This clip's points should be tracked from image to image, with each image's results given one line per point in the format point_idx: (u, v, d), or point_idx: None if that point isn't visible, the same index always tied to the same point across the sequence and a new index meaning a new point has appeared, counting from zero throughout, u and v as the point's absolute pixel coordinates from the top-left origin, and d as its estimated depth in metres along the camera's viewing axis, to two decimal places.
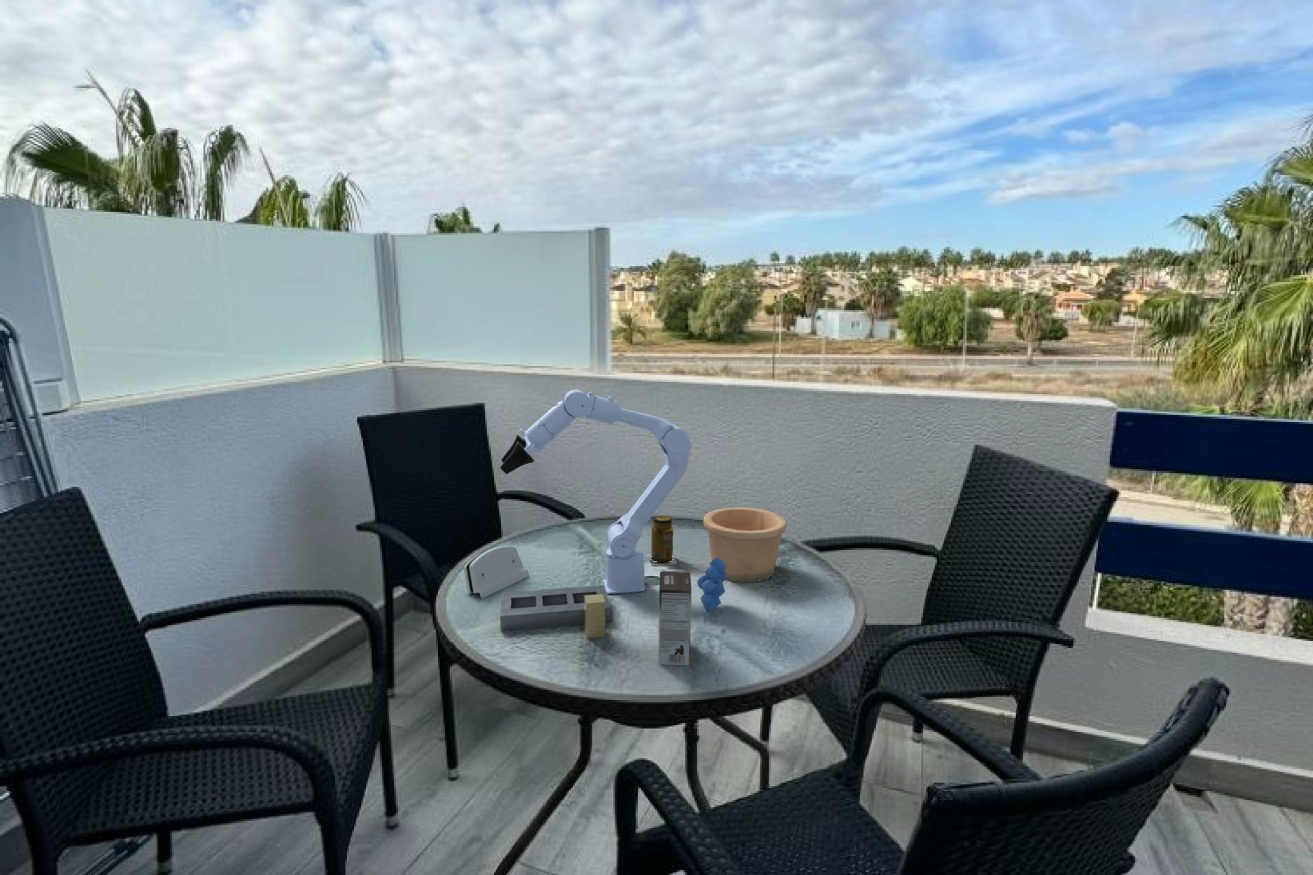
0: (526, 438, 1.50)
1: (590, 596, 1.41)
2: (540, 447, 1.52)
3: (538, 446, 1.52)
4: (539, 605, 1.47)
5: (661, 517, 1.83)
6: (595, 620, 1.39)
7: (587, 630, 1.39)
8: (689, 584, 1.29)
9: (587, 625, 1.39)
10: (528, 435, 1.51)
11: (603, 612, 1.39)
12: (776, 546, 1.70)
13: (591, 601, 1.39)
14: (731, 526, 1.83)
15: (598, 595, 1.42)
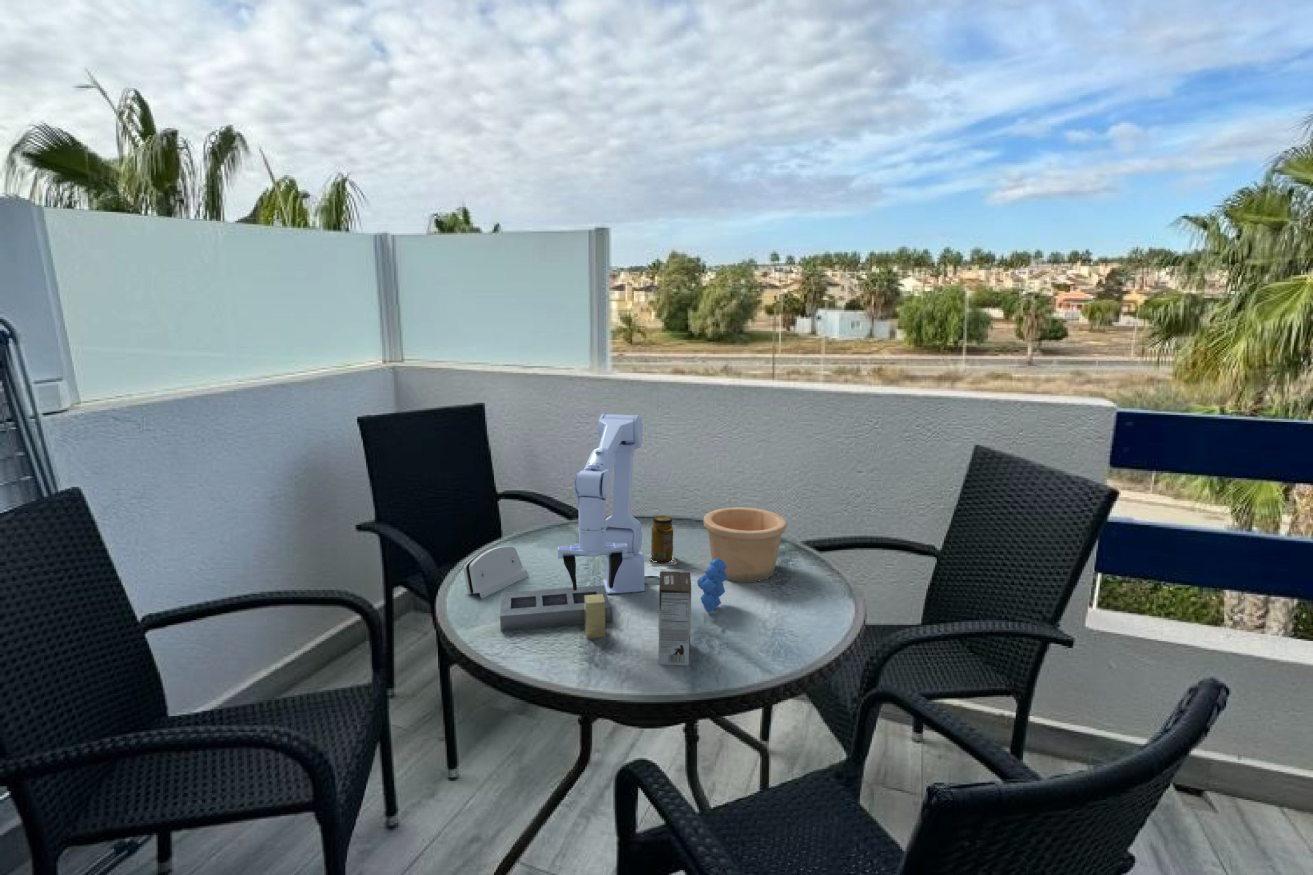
0: (609, 550, 1.37)
1: (590, 596, 1.41)
2: None
3: None
4: (539, 605, 1.47)
5: (661, 517, 1.83)
6: (595, 620, 1.39)
7: (587, 630, 1.39)
8: (689, 584, 1.29)
9: (587, 625, 1.39)
10: (603, 547, 1.36)
11: (603, 612, 1.39)
12: (776, 546, 1.70)
13: (591, 601, 1.39)
14: (731, 526, 1.83)
15: (598, 595, 1.42)
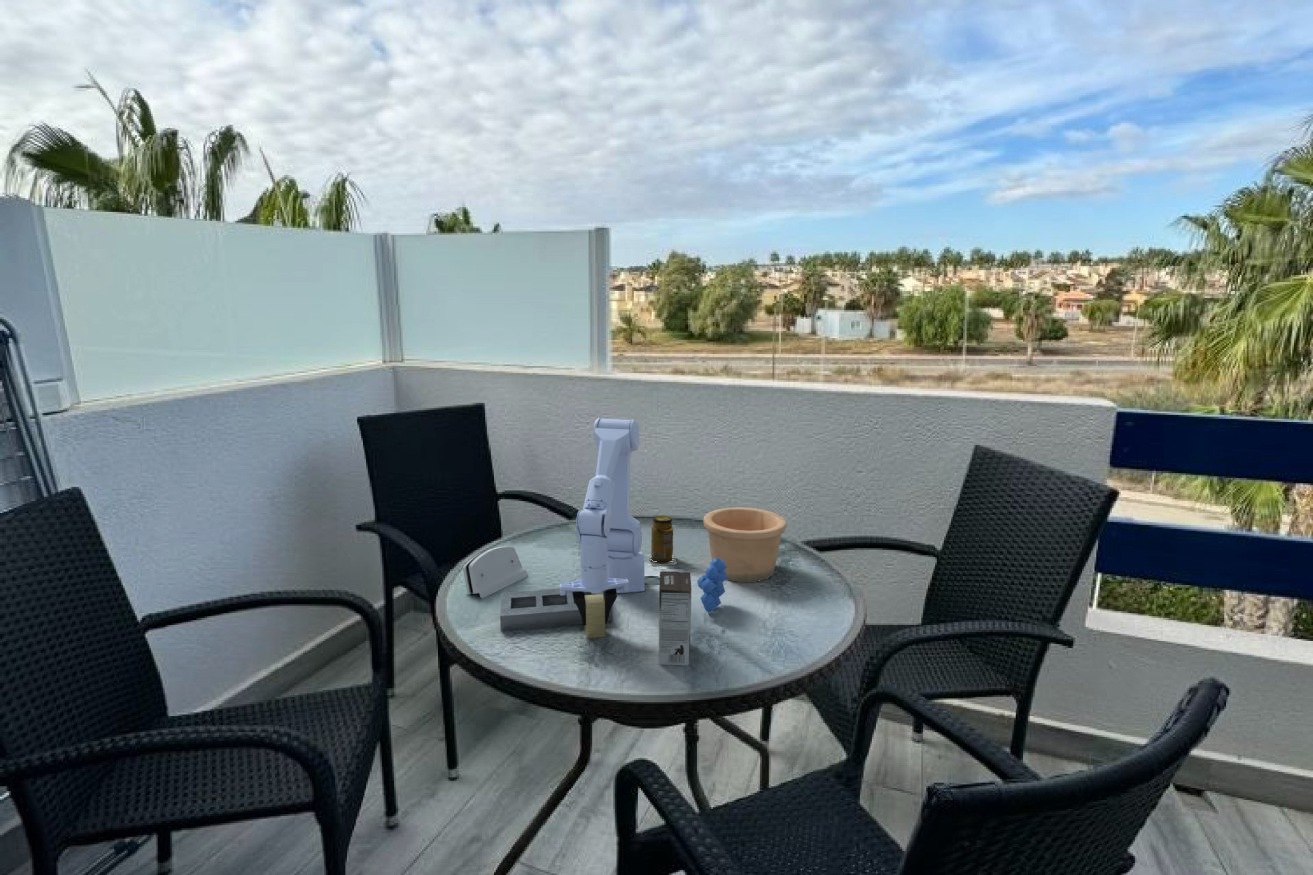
0: (611, 586, 1.38)
1: (590, 596, 1.41)
2: None
3: None
4: (539, 605, 1.47)
5: (661, 517, 1.83)
6: (595, 620, 1.39)
7: (587, 630, 1.39)
8: (689, 584, 1.29)
9: (587, 625, 1.39)
10: (604, 584, 1.38)
11: (603, 612, 1.39)
12: (776, 546, 1.70)
13: (591, 601, 1.39)
14: (731, 526, 1.83)
15: (598, 595, 1.42)
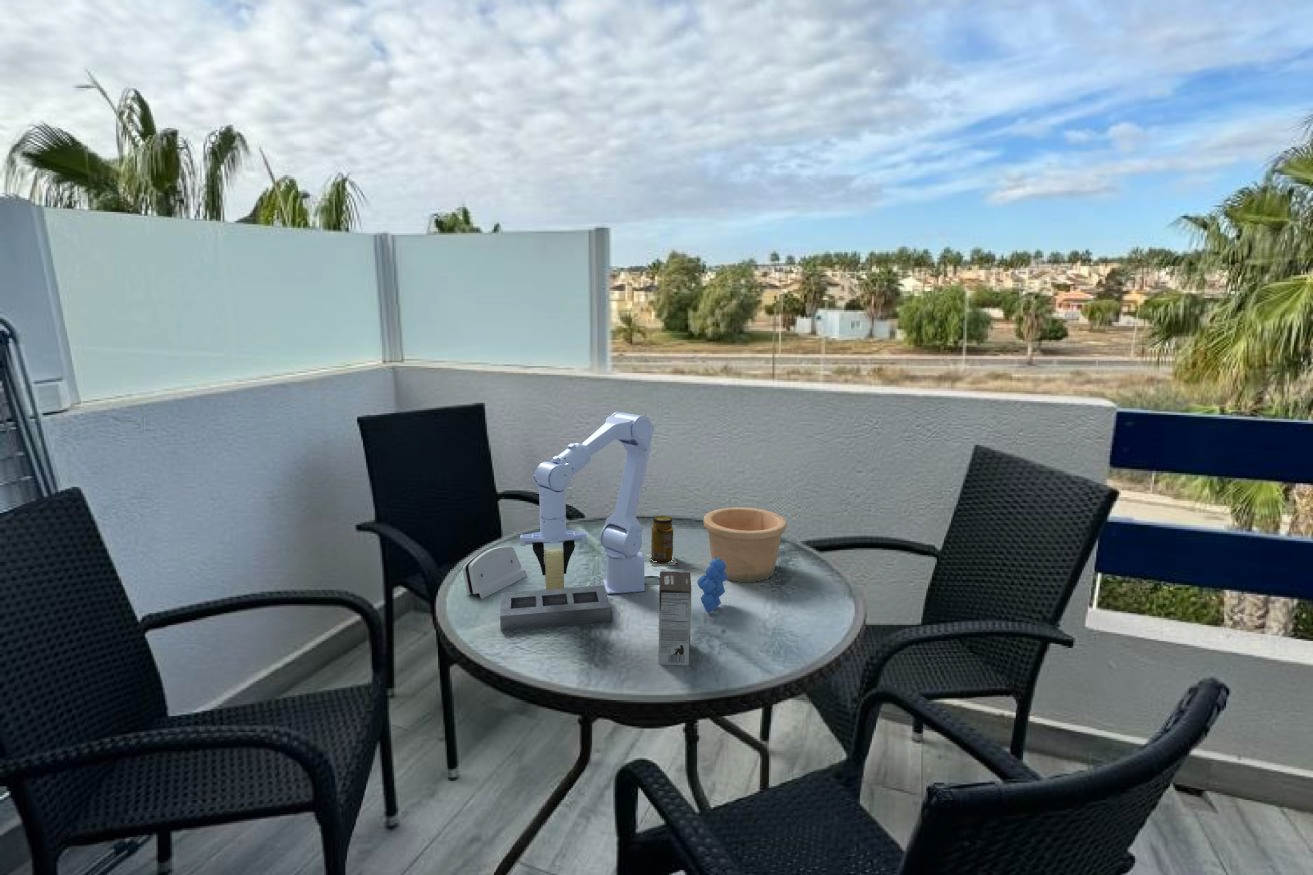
0: (569, 537, 1.45)
1: (550, 550, 1.48)
2: None
3: None
4: (539, 605, 1.47)
5: (661, 517, 1.83)
6: (554, 573, 1.46)
7: (547, 582, 1.46)
8: (689, 584, 1.29)
9: (546, 577, 1.46)
10: (562, 535, 1.45)
11: (562, 565, 1.46)
12: (776, 546, 1.70)
13: (551, 554, 1.46)
14: (731, 526, 1.83)
15: (558, 549, 1.49)
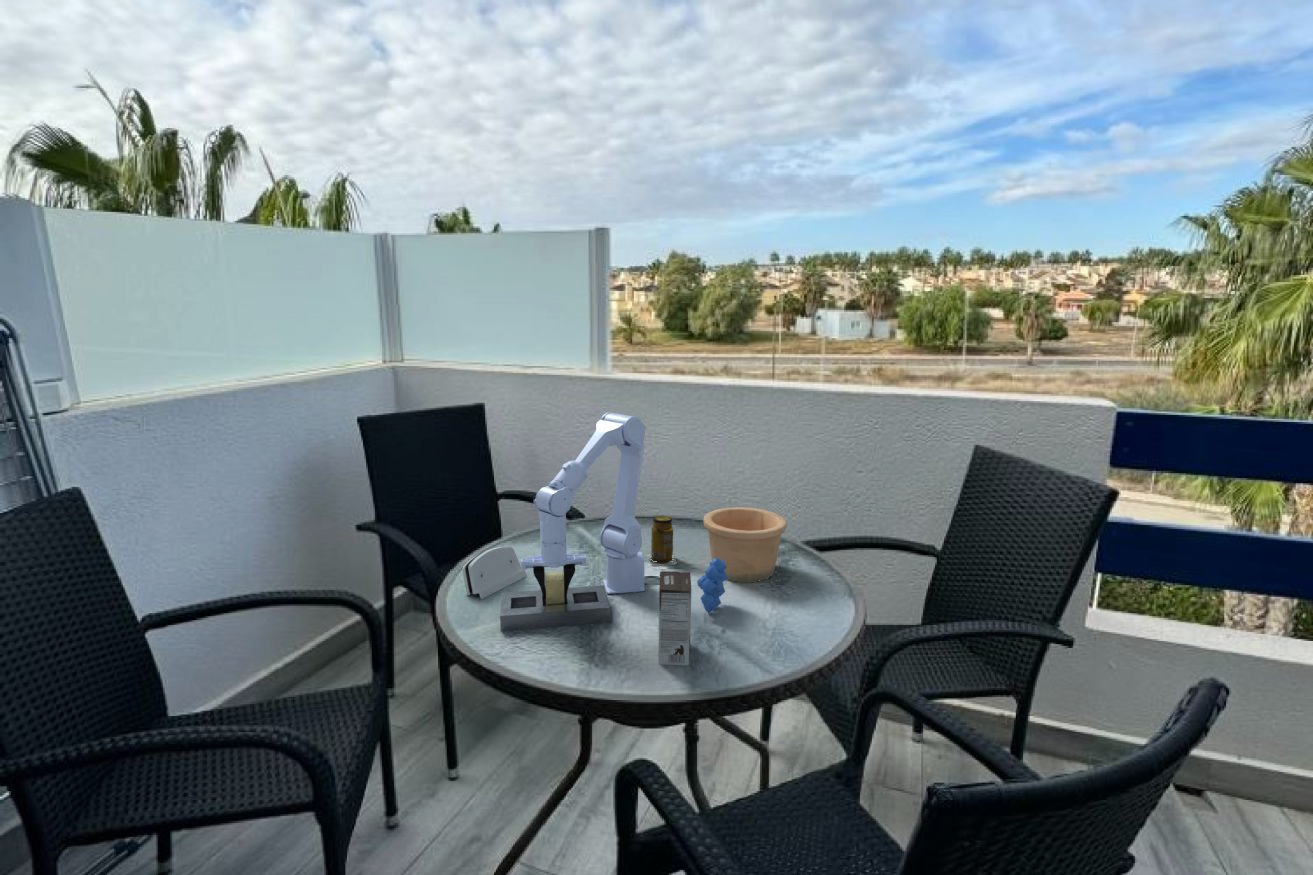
0: (569, 561, 1.47)
1: (550, 574, 1.49)
2: None
3: None
4: (539, 605, 1.47)
5: (661, 517, 1.83)
6: (555, 596, 1.47)
7: None
8: (689, 584, 1.29)
9: (547, 601, 1.47)
10: (563, 559, 1.46)
11: (562, 589, 1.47)
12: (776, 546, 1.70)
13: (551, 578, 1.47)
14: (731, 526, 1.83)
15: (558, 573, 1.50)
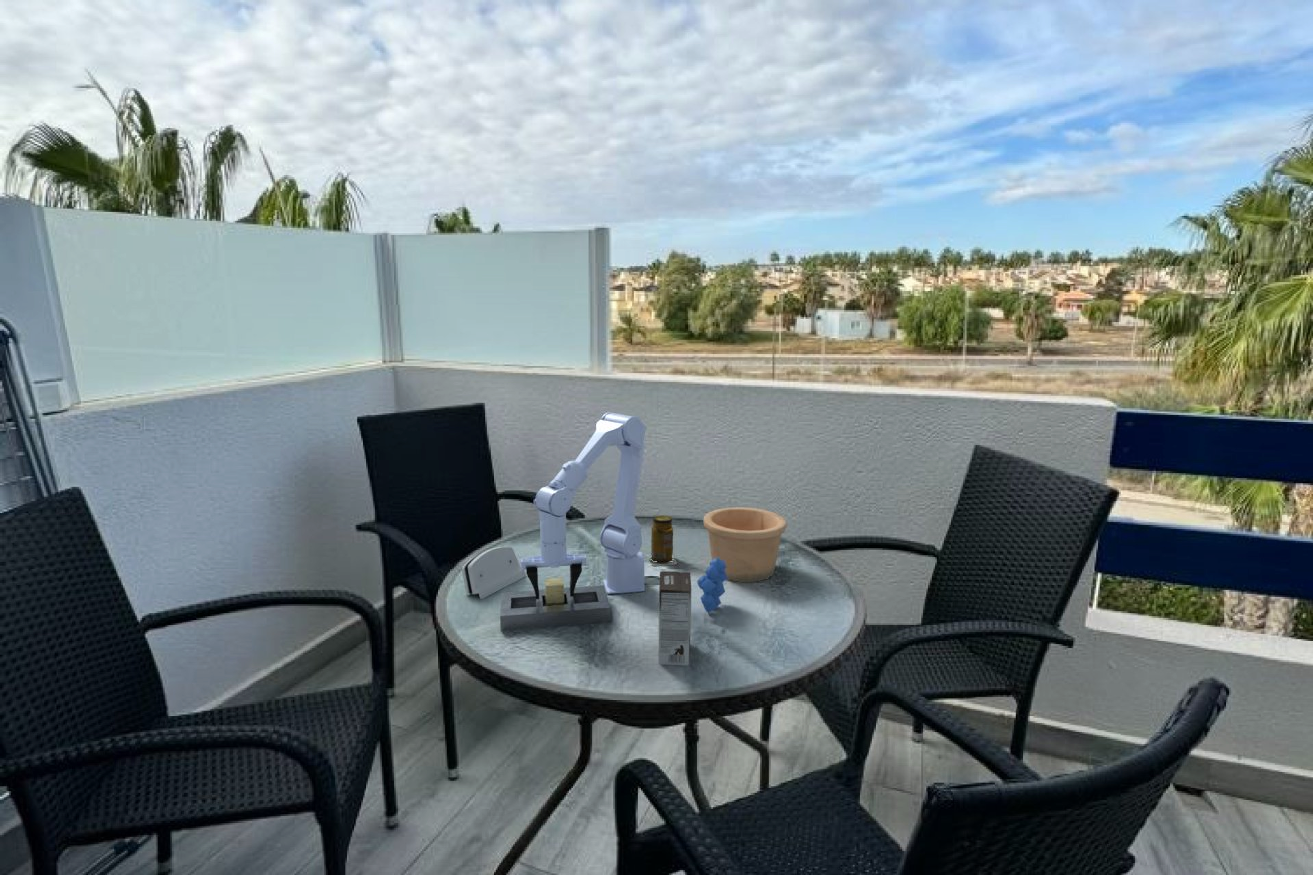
0: (569, 561, 1.47)
1: (550, 579, 1.50)
2: None
3: None
4: (539, 605, 1.47)
5: (661, 517, 1.83)
6: (554, 602, 1.48)
7: None
8: (689, 584, 1.29)
9: None
10: (563, 559, 1.46)
11: (562, 594, 1.47)
12: (776, 546, 1.70)
13: (551, 584, 1.47)
14: (731, 526, 1.83)
15: (558, 578, 1.50)
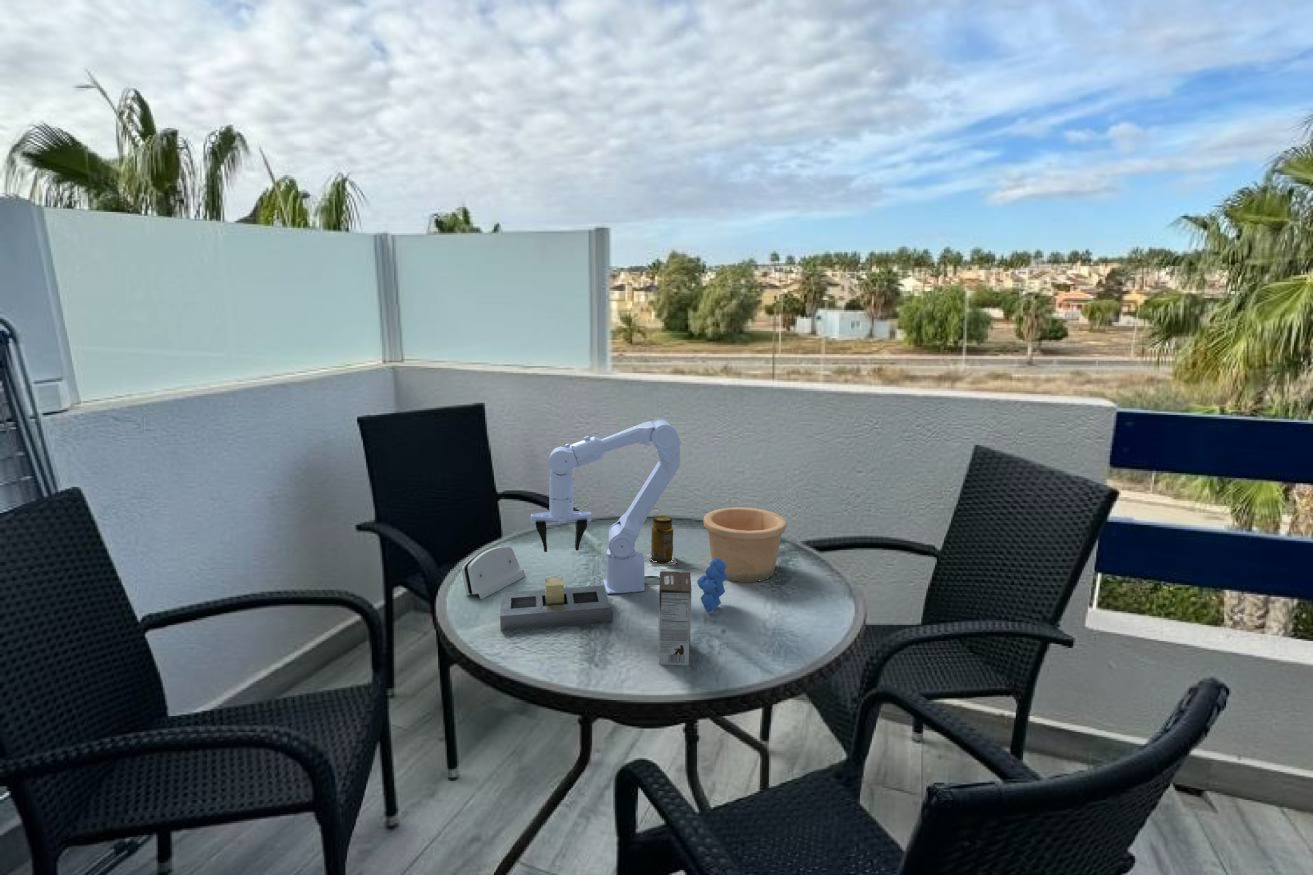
0: (576, 517, 1.59)
1: (550, 579, 1.50)
2: None
3: None
4: (539, 605, 1.47)
5: (661, 517, 1.83)
6: (554, 602, 1.48)
7: None
8: (689, 584, 1.29)
9: None
10: (570, 514, 1.58)
11: (562, 594, 1.48)
12: (776, 546, 1.70)
13: (551, 584, 1.47)
14: (731, 526, 1.83)
15: (558, 578, 1.50)
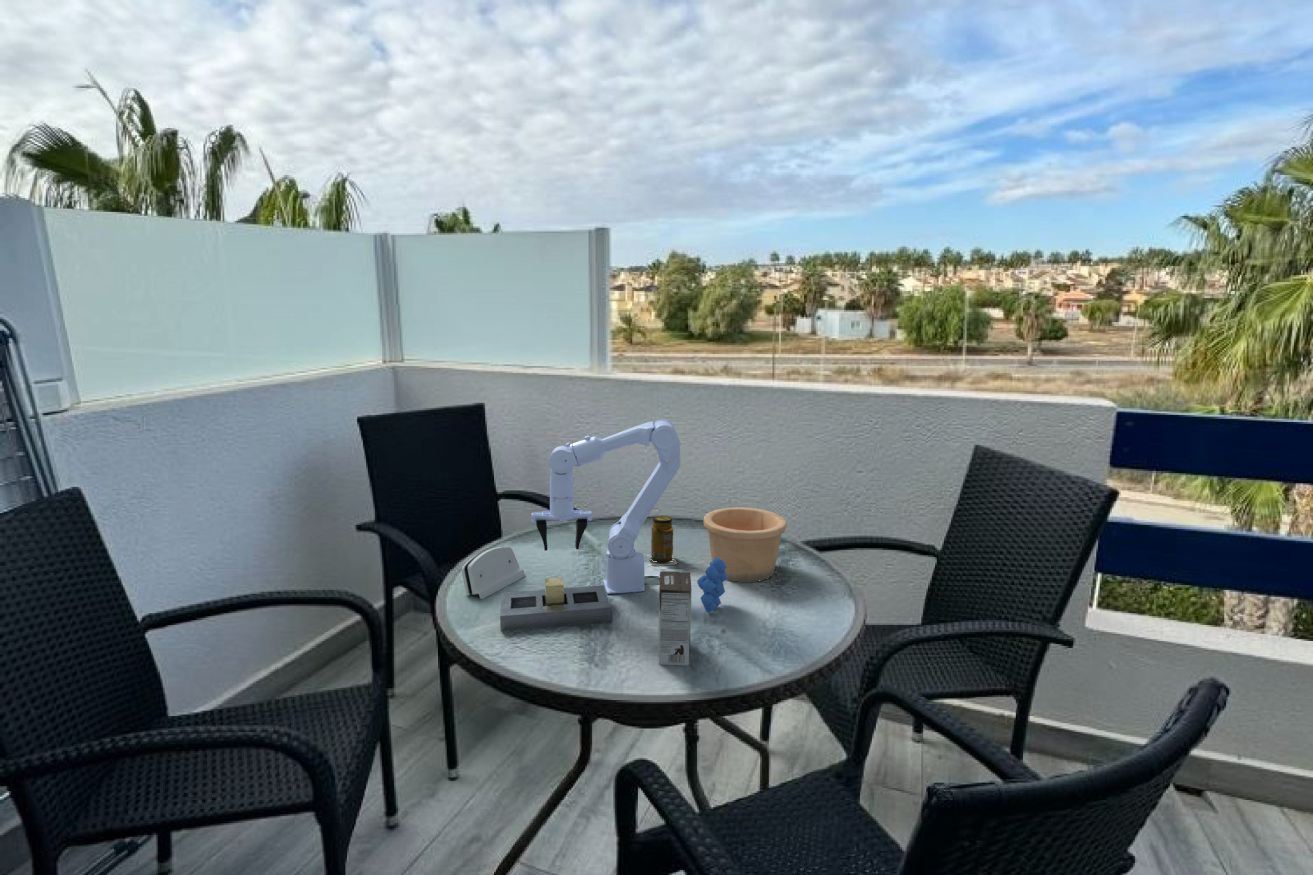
0: (576, 516, 1.59)
1: (550, 579, 1.50)
2: None
3: None
4: (539, 605, 1.47)
5: (661, 517, 1.83)
6: (554, 602, 1.48)
7: None
8: (689, 584, 1.29)
9: None
10: (570, 513, 1.59)
11: (562, 594, 1.48)
12: (776, 546, 1.70)
13: (551, 584, 1.47)
14: (731, 526, 1.83)
15: (558, 578, 1.50)
